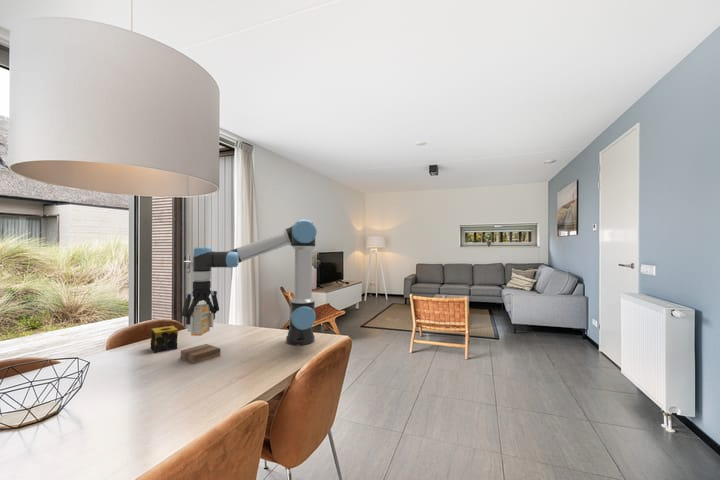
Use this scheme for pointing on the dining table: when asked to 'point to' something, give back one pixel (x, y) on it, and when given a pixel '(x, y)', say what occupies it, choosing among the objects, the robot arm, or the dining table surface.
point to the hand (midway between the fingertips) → (200, 329)
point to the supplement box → (201, 320)
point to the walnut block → (200, 353)
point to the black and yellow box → (164, 339)
